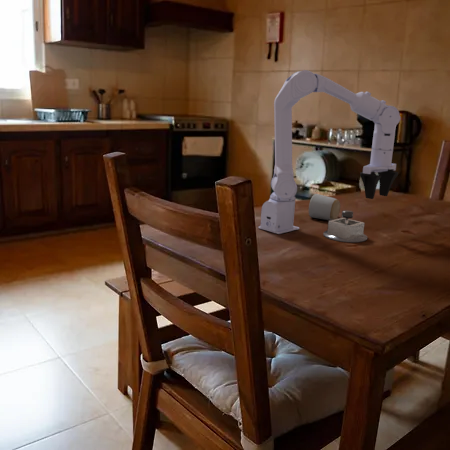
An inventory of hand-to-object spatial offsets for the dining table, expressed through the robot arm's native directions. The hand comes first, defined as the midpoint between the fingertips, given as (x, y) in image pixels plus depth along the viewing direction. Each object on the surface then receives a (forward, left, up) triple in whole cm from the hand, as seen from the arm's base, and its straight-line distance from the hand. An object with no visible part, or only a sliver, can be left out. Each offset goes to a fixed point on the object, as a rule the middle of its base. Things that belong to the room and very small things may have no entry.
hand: (376, 197), depth 146 cm
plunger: (-11, +2, -10) cm, 15 cm away
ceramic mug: (+2, +18, -11) cm, 21 cm away
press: (-11, +2, -10) cm, 15 cm away
